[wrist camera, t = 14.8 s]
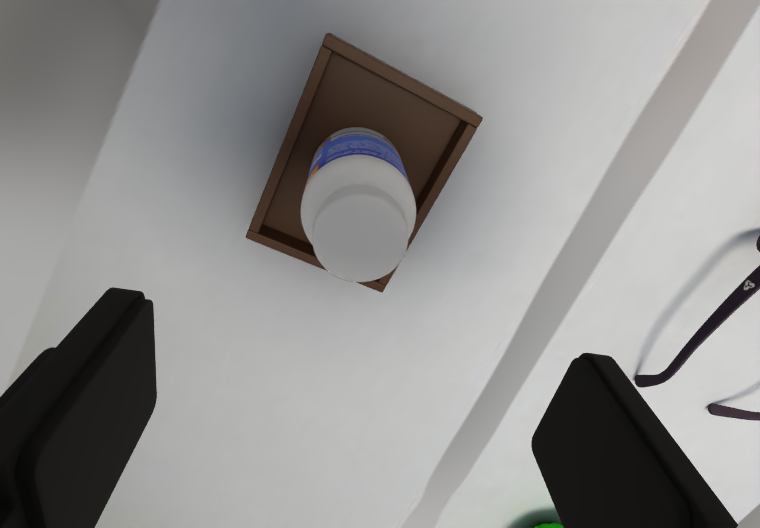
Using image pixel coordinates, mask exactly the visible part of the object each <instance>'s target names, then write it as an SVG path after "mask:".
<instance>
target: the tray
mask: <svg viewBox="0 0 760 528" xmlns="http://www.w3.org/2000/svg"><path fill="white" fill-rule="evenodd" d="M482 119H483V118H482V117H481V116H480V115H478V114H477V113H476V112H474V111H472V110H470V109H469V108H467V107H465V106H463V105H461V104H459V103H458V102H456V101H454V100H452V99H450V98H448V97H447V96H445V95H443V94H441V93H439V92H437V91H436V90H434V89H432V88H430V87H428V86H426V85H424V84H423V83H421V82H419V81H417V80H415V79H413V78H412V77H410V76H408V75H406V74H404V73H402V72H401V71H399V70H397V69H395V68H393V67H391V66H390V65H388V64H386V63H384V62H382V61H380V60H378V59H377V58H375V57H373V56H371V55H369V54H367V53H366V52H364V51H362V50H360V49H358V48H356V47H355V46H353V45H351V44H349V43H347V42H345V41H344V40H342V39H340V38H338V37H336V36H334V35H333V34H331V33H327V34H326V35H325V38H324V40H323V43H322V46H321V48H320V51H319V53H318V56H317V58H316V61H315V63H314V66H313V68H312V71H311V73H310V76H309V78H308V81H307V83H306V86H305V88H304V91H303V93H302V96H301V98H300V101H299V103H298V106H297V108H296V111H295V114H294V116H293V119H292V121H291V124H290V126H289V129H288V131H287V134H286V136H285V139H284V141H283V144H282V146H281V149H280V151H279V154H278V156H277V159H276V161H275V164H274V166H273V169H272V171H271V174H270V177H269V179H268V182H267V184H266V187H265V189H264V192H263V194H262V197H261V199H260V202H259V204H258V207H257V209H256V212H255V214H254V217H253V219H252V222H251V224H250V227H249V230H248V232H247V234H246V238H248V239H250V240H253V241H255V242H258V243H260V244H262V245H265V246H267V247H270V248H272V249H275V250H277V251H280V252H282V253H285V254H287V255H290V256H292V257H295V258H297V259H300V260H302V261H305V262H307V263H310V264H312V265H315V266H317V267H320V268H322V269H325V268H324V267H323V265H322V264H321V263H320V262H319V260H318V259H317V256H316V254H315V252H314V248H313V245H312V244H311V242H310V241H309V239H308V238H307V236H306V234H305V231H304V229H303V225H302V221H301V203H302V197H303V193H304V190H305V186H306V182H307V179H308V175H309V171H310V168H311V164H312V161H313V158H314V155H315V153H316V151H317V149H318V148H319V146H320V145H321V144H322V142H323V141H324V140H325V139H326V138H327V137H329V136H330V135H331V134H333V133H335V132H337V131H339V130H342V129H345V128H350V127H363V128H367V129H371V130H373V131H376V132H378V133H380V134H381V135H383V136H384V137H386V138H387V139H388V140H389V141H390V142H391V143H392V144H393V146H394V147H395V148H396V150H397V151H398V153H399V155H400V158H401V161H402V164H403V167H404V170H405V173H406V175H407V178H408V181H409V183H410V186H411V189H412V191H413V195H414V198H415V203H416V220H415V225H414V229H413V232H412V233H411V236H410V238H409V239H408V246H407V249H408V247H409V245H410V244H411V242H412V240H413V239H414V237H415V235H416V233H417V232H418V230H419V228H420V226H421V225H422V223H423V221H424V220H425V218H426V216H427V214H428V213H429V211H430V209H431V207H432V206H433V204H434V202H435V201H436V199H437V197H438V195H439V194H440V192H441V190H442V188H443V187H444V185H445V183H446V182H447V180H448V178H449V176H450V175H451V173H452V171H453V169H454V168H455V166H456V164H457V162H458V161H459V159H460V157H461V156H462V154H463V152H464V150H465V149H466V147H467V145H468V143H469V142H470V140H471V138H472V137H473V135H474V133H475V131H476V130H477V127H478V126H479V124H480V123H481V121H482ZM406 251H407V250H406ZM398 265H399V264H398ZM396 268H397V267H396ZM396 268H395V269H394V270H393V271H391V272H390V273H389V274H387V275H385V276H383V277H381V278H379V279H376V280H373V281H367V282H357V283H359V284H362V285H364V286H367V287H369V288H372V289H374V290H377V291H379V292H383V291H384V289H385V287H386V285H387V284H388V282H389V280H390V278H391V277H392V275H393V273H394V271H395V270H396ZM325 270H326V269H325ZM327 271H328V270H327Z"/></svg>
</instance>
